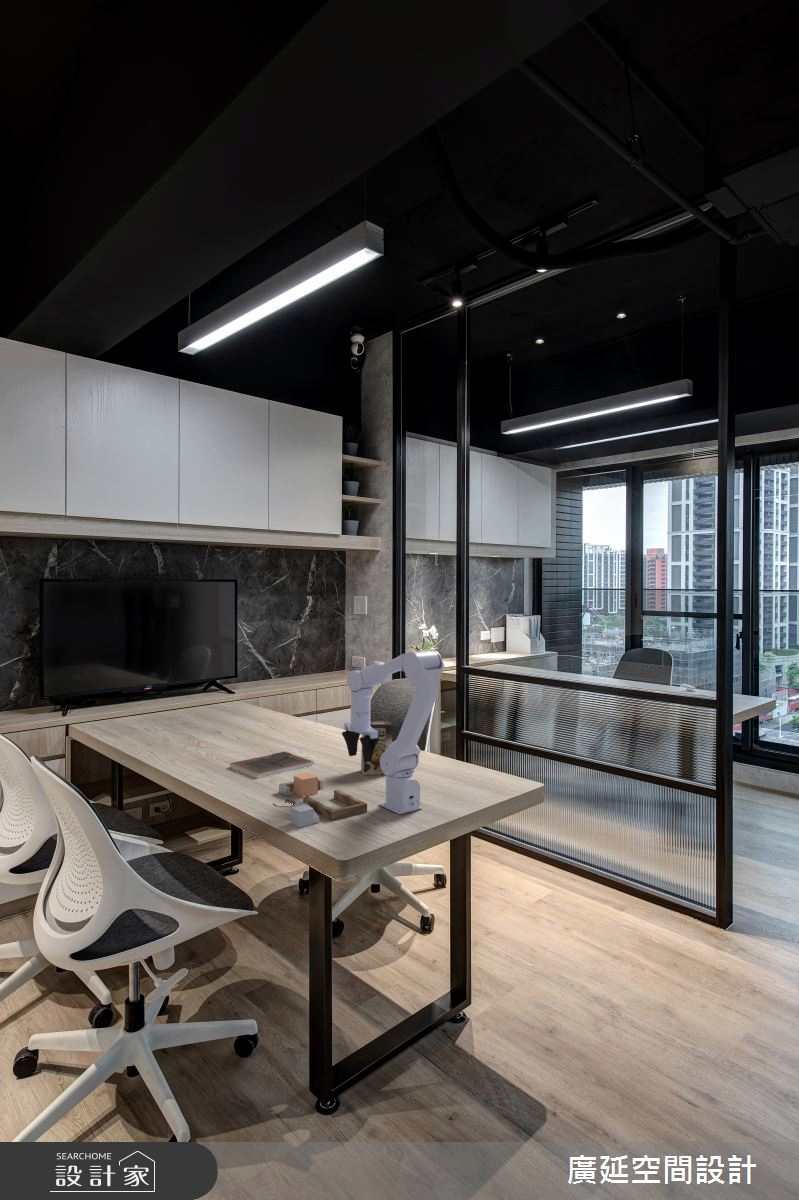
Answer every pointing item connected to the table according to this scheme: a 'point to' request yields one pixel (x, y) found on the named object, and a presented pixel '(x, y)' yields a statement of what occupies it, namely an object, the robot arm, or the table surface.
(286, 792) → the rail
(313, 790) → the cube
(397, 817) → the table surface
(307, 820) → the slate block
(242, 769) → the picture frame
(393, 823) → the table surface
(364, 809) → the bay
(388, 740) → the coffee box
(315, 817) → the steel bar
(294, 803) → the hole disc
